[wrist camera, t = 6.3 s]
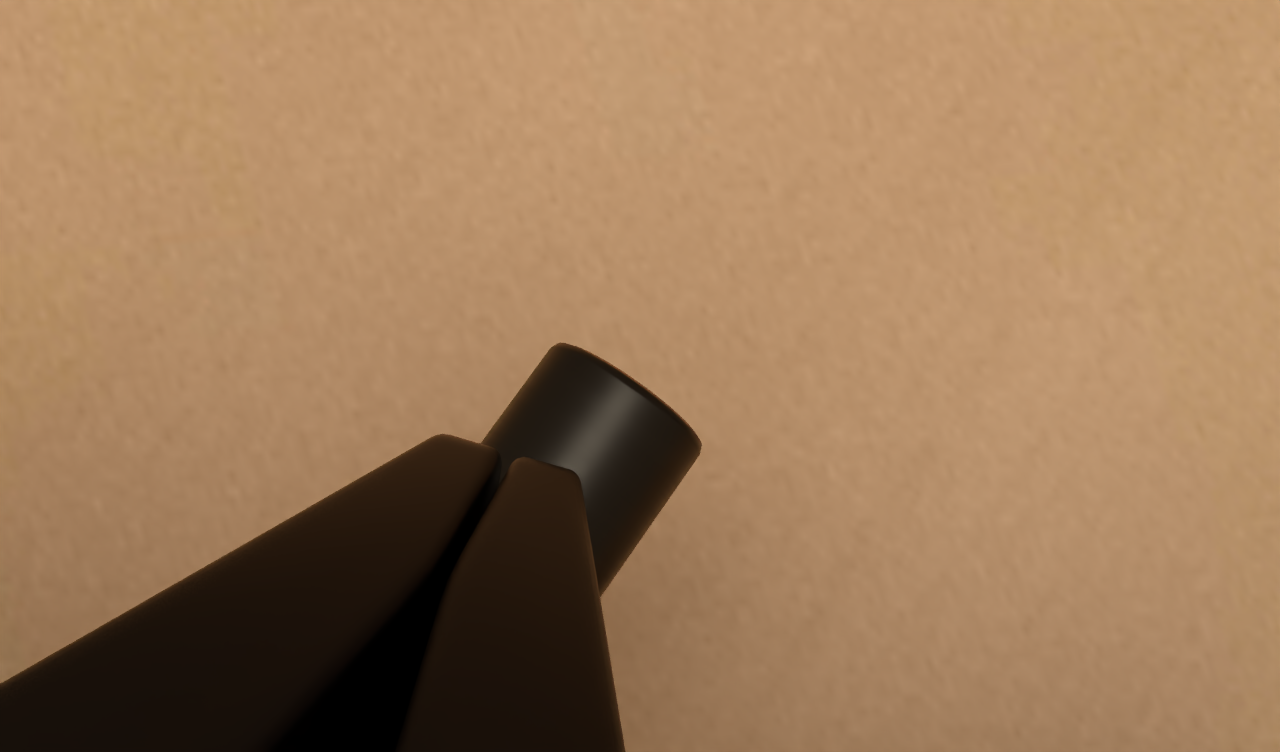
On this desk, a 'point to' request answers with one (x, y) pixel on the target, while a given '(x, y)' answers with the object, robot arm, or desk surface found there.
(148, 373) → the desk surface
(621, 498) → the lever handle
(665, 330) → the desk surface
